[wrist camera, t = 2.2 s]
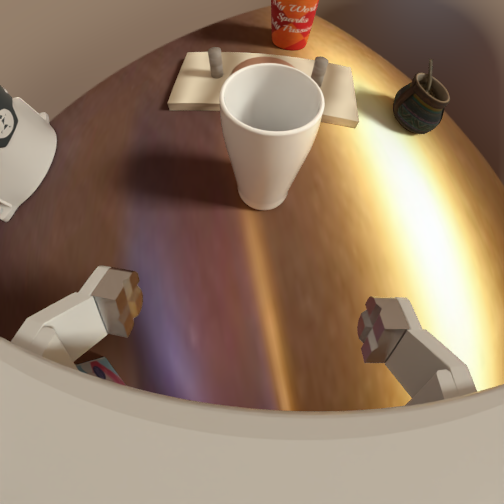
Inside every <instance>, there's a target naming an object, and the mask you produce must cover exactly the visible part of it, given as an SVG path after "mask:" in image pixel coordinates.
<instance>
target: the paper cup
mask: <svg viewBox="0 0 504 504" xmlns="http://www.w3.org/2000/svg"><path fill="white" fill-rule="evenodd" d="M318 2H319V0H271V19H272V42H273V43H274V44H275V45H276V46H277V47H279V48H282V49H285V50H300V49H302V48H304V47H305V45H306V43H307V40H308V37H309V34H310V30H311V27H312V23H313V20H314V16H315V13H316V9H317V6H318Z"/></svg>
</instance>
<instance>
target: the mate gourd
mask: <svg viewBox="0 0 504 504" xmlns="http://www.w3.org/2000/svg"><path fill="white" fill-rule="evenodd" d="M432 62H433V60H431V59H429V73H428V74H424V73H417V74H416V75H415V77H414V78H413V80H412V82H411V83H410V84H408V85H406V86H404V87H403V88H401V89H400V90H399V91H398V92H397V94H396V96H395V100H394V104H393V111H394V115H395V118H396V119H397V120H398V121H399V123H400V124H401V125H402V126H403V127H404V128H406V129H407V130H409V131H411V132H413V133H417V134H425V133H427V132H429V131H431V130H433V129H434V128H435V127H436V126H437V125H438V124H439V123H440V122H441V119H442V116H443V113H444V107H446V105H447V104H448V103H449V102H450V96H449V94H448V92H447V90H446V88H445V87H444V86H443V85H442V84H441V83H440V82H439V81H438V80H436V79H435V78H434V77H432V69H433V68H432V67H433V66H432Z"/></svg>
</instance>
